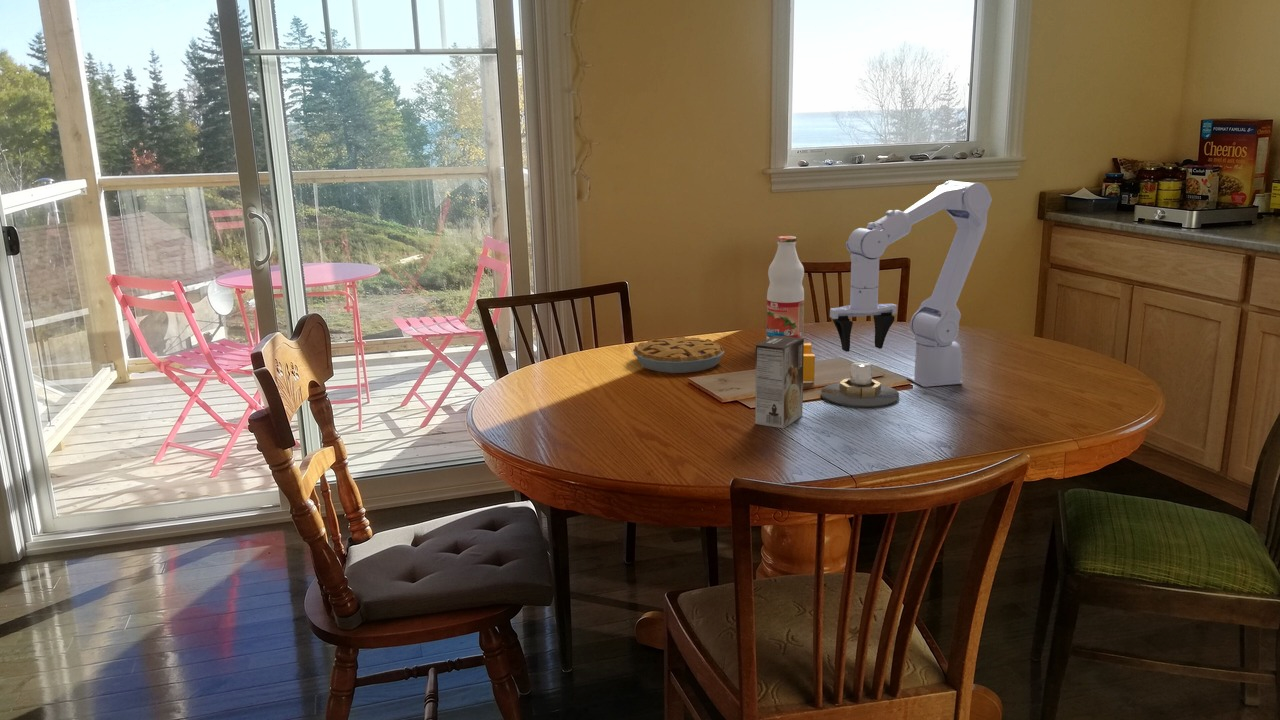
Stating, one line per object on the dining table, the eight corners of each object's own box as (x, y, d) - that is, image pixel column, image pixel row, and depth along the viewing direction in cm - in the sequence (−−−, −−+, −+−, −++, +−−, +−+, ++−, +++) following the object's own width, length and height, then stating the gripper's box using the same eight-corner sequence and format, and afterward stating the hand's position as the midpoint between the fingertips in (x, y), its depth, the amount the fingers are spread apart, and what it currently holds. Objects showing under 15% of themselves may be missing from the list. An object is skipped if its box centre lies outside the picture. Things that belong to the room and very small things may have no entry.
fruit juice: (810, 345, 247) (813, 236, 240) (784, 351, 242) (787, 240, 235) (784, 338, 255) (786, 233, 248) (758, 344, 249) (760, 237, 242)
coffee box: (773, 411, 194) (774, 334, 190) (803, 416, 191) (805, 337, 186) (754, 424, 186) (754, 344, 182) (784, 429, 183) (786, 347, 179)
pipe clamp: (791, 369, 225) (791, 343, 224) (810, 370, 225) (810, 343, 223) (794, 384, 214) (795, 356, 212) (814, 384, 213) (814, 356, 212)
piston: (869, 389, 204) (870, 362, 202) (872, 395, 200) (873, 367, 198) (848, 389, 204) (849, 362, 203) (851, 395, 200) (852, 367, 199)
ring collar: (877, 383, 212) (877, 370, 211) (912, 404, 197) (913, 390, 196) (809, 389, 208) (809, 376, 208) (840, 410, 193) (841, 396, 193)
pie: (742, 365, 230) (742, 344, 229) (669, 380, 218) (668, 359, 217) (687, 348, 248) (686, 329, 247) (616, 361, 236) (616, 341, 235)
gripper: (886, 280, 206) (884, 342, 210) (824, 285, 203) (822, 347, 206) (903, 286, 200) (900, 349, 203) (838, 291, 196) (837, 355, 200)
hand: (862, 349), depth 204 cm, fingers open, 7 cm apart
